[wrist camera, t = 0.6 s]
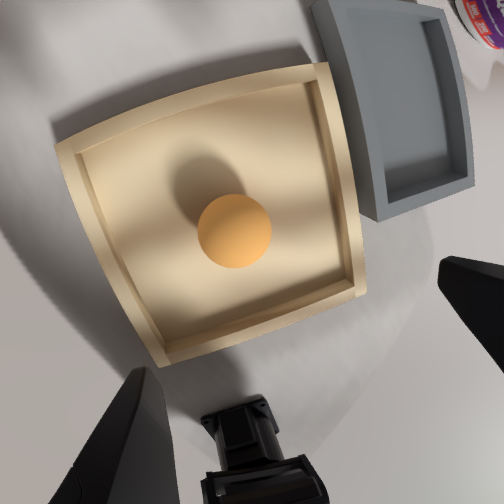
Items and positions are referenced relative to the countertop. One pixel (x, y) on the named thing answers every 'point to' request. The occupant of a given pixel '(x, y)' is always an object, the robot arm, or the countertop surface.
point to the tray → (398, 102)
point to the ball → (234, 231)
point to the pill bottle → (484, 21)
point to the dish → (210, 188)
